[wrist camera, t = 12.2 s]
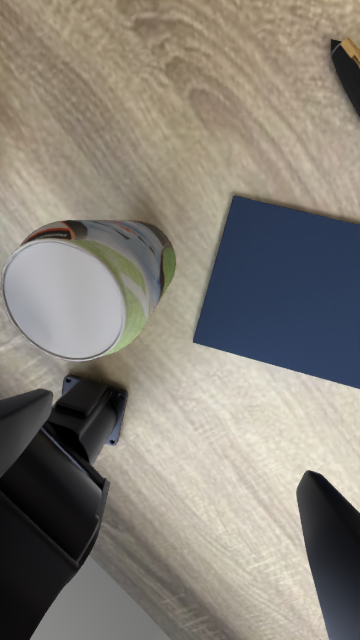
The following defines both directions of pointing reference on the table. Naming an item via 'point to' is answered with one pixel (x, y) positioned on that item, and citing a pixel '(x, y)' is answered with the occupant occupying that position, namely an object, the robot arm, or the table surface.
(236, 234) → the blue hardcover notebook
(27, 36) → the table surface
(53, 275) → the beverage can
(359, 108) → the fountain pen
